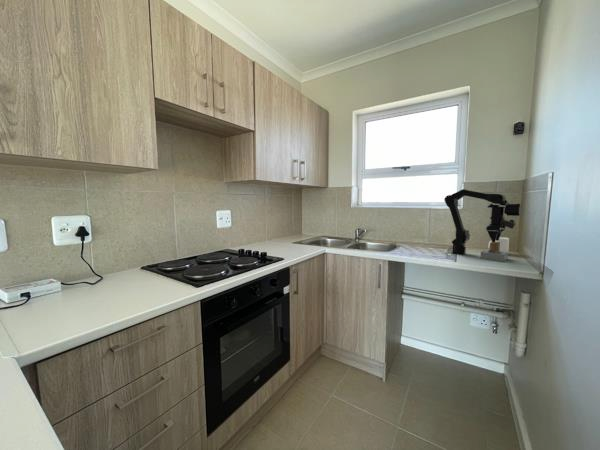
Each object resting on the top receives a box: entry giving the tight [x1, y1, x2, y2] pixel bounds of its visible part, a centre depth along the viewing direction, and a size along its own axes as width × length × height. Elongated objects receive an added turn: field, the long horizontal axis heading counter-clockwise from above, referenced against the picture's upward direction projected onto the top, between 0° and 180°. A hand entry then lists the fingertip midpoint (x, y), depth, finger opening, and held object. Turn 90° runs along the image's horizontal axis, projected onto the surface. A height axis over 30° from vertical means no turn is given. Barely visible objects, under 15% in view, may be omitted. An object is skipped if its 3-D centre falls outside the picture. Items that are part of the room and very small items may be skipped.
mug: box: [487, 236, 510, 253], centre depth 161 cm, size 12×8×10 cm
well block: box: [480, 249, 509, 263], centre depth 147 cm, size 11×11×4 cm
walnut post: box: [489, 241, 500, 253], centre depth 147 cm, size 4×4×10 cm
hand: (495, 241), depth 146 cm, fingers open, 9 cm apart
